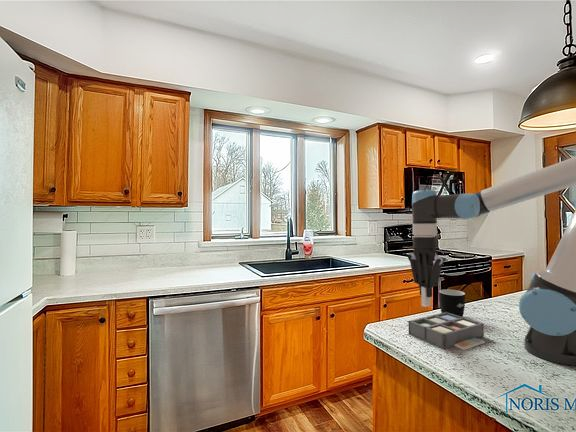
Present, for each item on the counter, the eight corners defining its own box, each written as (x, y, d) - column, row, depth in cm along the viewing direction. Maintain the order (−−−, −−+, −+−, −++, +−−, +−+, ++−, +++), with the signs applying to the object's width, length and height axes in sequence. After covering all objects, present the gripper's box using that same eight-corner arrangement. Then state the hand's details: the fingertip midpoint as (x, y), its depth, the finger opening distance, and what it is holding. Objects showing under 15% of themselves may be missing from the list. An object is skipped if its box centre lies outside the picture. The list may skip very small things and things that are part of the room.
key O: (476, 330, 101) (476, 324, 101) (467, 332, 99) (467, 326, 99) (463, 325, 105) (463, 320, 105) (454, 328, 103) (454, 322, 103)
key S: (452, 337, 95) (452, 330, 95) (443, 339, 93) (443, 333, 93) (440, 332, 99) (440, 326, 99) (430, 334, 97) (430, 328, 97)
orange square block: (464, 335, 98) (464, 329, 98) (455, 338, 96) (455, 332, 96) (451, 331, 102) (451, 325, 102) (443, 333, 100) (443, 327, 100)
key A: (458, 324, 106) (458, 318, 106) (450, 326, 104) (450, 320, 104) (447, 320, 110) (447, 314, 110) (438, 322, 108) (438, 317, 108)
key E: (436, 333, 101) (436, 327, 101) (426, 335, 99) (426, 329, 99) (424, 328, 105) (424, 322, 105) (415, 330, 103) (415, 325, 103)
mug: (458, 323, 112) (458, 296, 112) (435, 317, 119) (434, 291, 119) (473, 317, 119) (472, 291, 119) (449, 311, 126) (449, 287, 126)
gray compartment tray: (493, 340, 97) (493, 326, 97) (454, 353, 89) (453, 338, 89) (446, 323, 112) (446, 312, 112) (408, 333, 103) (408, 321, 103)
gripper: (449, 236, 97) (451, 309, 97) (416, 234, 109) (417, 299, 109) (434, 237, 94) (435, 313, 94) (401, 235, 106) (402, 302, 106)
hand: (426, 305), depth 102 cm, fingers closed
